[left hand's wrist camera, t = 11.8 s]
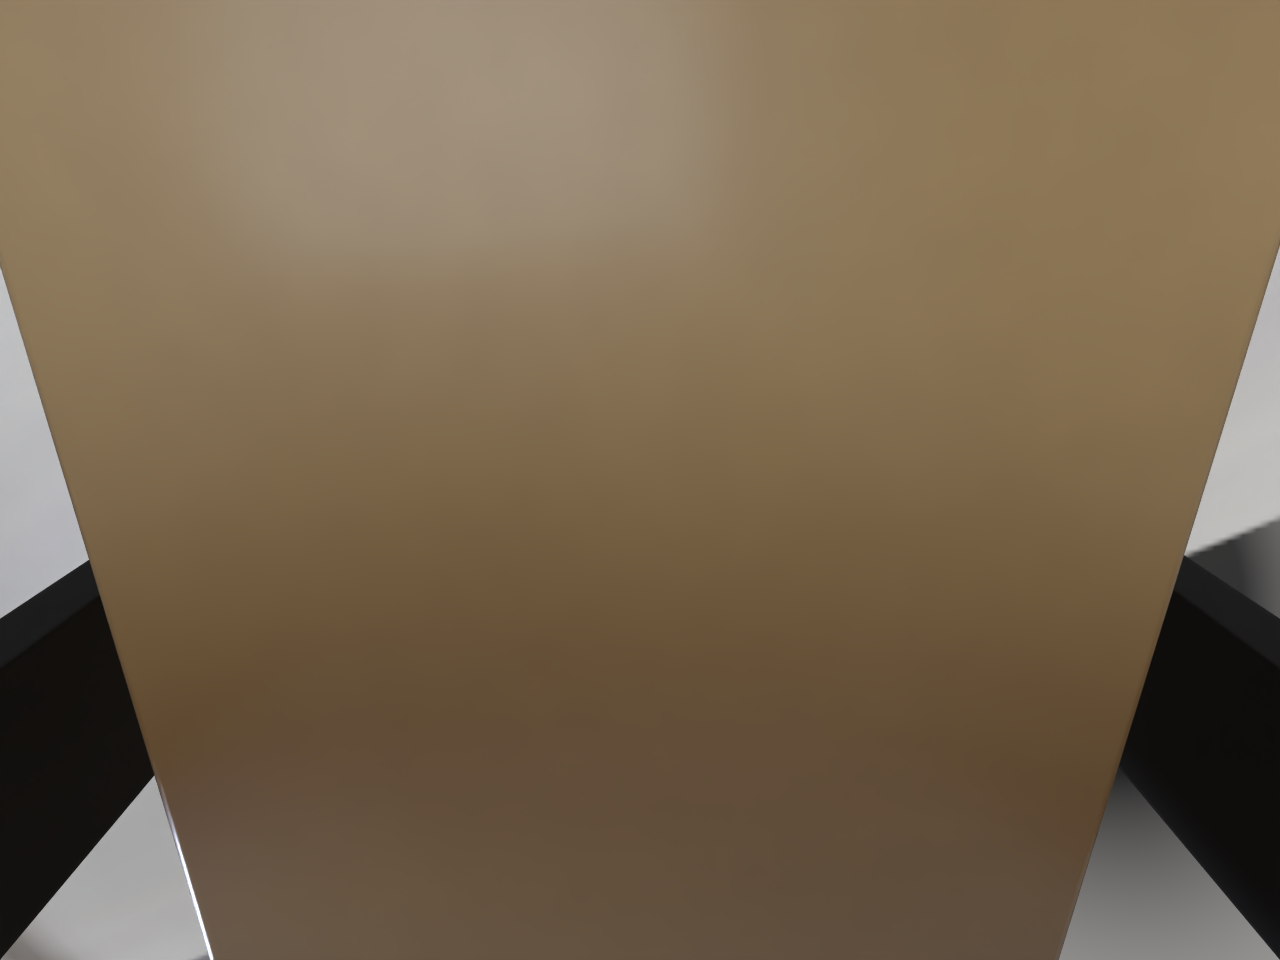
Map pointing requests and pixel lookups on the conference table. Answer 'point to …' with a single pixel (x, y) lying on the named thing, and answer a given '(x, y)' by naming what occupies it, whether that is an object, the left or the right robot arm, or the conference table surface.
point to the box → (637, 445)
